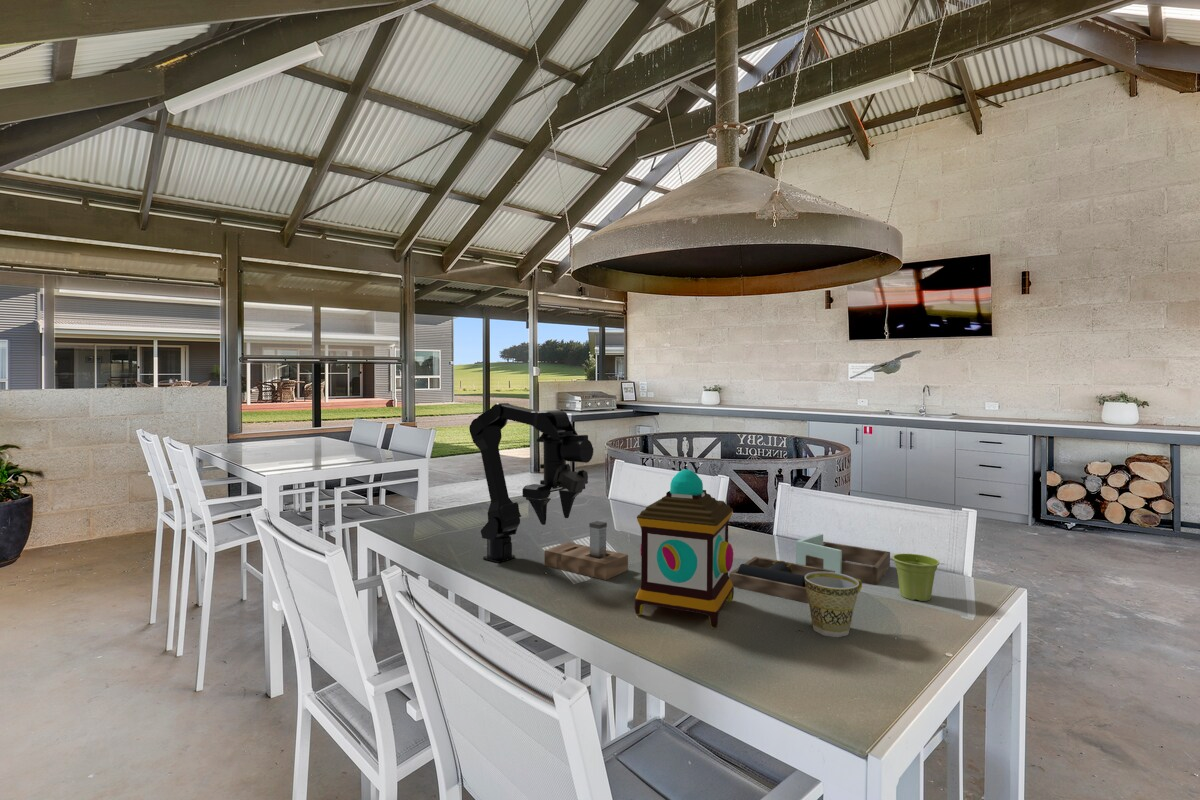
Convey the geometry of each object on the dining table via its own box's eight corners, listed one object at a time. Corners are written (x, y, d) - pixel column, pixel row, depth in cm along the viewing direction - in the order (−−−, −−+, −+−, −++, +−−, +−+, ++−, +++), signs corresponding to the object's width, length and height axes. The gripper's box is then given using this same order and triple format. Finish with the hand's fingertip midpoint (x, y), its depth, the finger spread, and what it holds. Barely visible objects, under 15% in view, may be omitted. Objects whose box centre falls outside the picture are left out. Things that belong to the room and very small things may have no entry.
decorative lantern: (741, 599, 129) (742, 466, 128) (722, 634, 111) (723, 479, 110) (656, 586, 137) (656, 461, 136) (625, 616, 119) (626, 472, 118)
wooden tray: (729, 585, 138) (729, 573, 138) (755, 567, 152) (755, 556, 151) (815, 604, 126) (815, 590, 126) (835, 583, 140) (835, 570, 140)
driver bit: (589, 570, 149) (589, 523, 148) (596, 567, 151) (596, 520, 151) (599, 573, 147) (599, 524, 146) (606, 570, 149) (606, 522, 149)
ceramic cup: (830, 645, 106) (831, 591, 106) (792, 624, 115) (793, 575, 115) (881, 633, 111) (882, 582, 111) (841, 614, 121) (841, 567, 120)
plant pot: (882, 592, 133) (883, 555, 133) (911, 587, 137) (911, 551, 137) (919, 607, 125) (919, 567, 125) (948, 600, 129) (949, 562, 128)
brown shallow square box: (805, 571, 149) (805, 555, 149) (823, 555, 163) (823, 541, 162) (877, 584, 139) (877, 568, 139) (889, 566, 153) (890, 552, 152)
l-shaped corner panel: (839, 580, 143) (840, 550, 143) (795, 569, 152) (796, 540, 152) (862, 571, 151) (862, 542, 151) (819, 560, 160) (819, 533, 160)
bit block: (544, 565, 153) (544, 550, 153) (568, 556, 161) (568, 542, 161) (605, 580, 141) (605, 564, 141) (628, 569, 149) (628, 554, 149)
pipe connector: (755, 553, 147) (815, 564, 138) (755, 574, 147) (815, 586, 138) (737, 566, 138) (800, 578, 129) (737, 588, 138) (800, 602, 129)
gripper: (555, 466, 135) (556, 532, 135) (601, 458, 150) (601, 518, 150) (520, 463, 141) (521, 526, 141) (568, 456, 156) (568, 513, 156)
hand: (555, 521), depth 147 cm, fingers open, 9 cm apart
